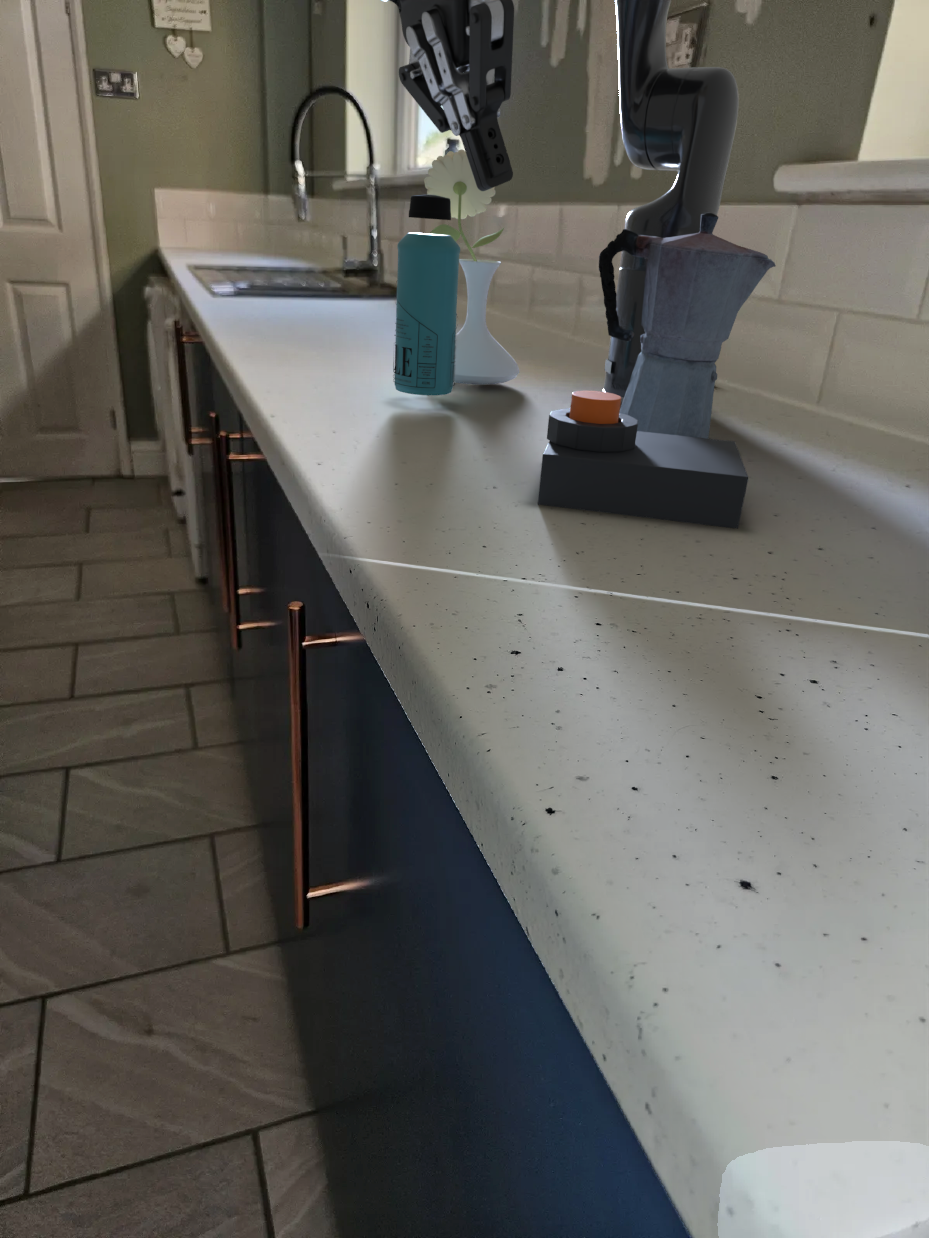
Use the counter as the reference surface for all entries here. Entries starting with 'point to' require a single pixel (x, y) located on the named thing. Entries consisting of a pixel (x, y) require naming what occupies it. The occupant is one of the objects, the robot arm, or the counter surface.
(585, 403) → the kettle switch
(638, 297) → the robot arm
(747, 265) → the moka pot
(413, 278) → the beverage bottle
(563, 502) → the base
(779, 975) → the counter surface
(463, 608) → the counter surface
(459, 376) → the flower in vase
